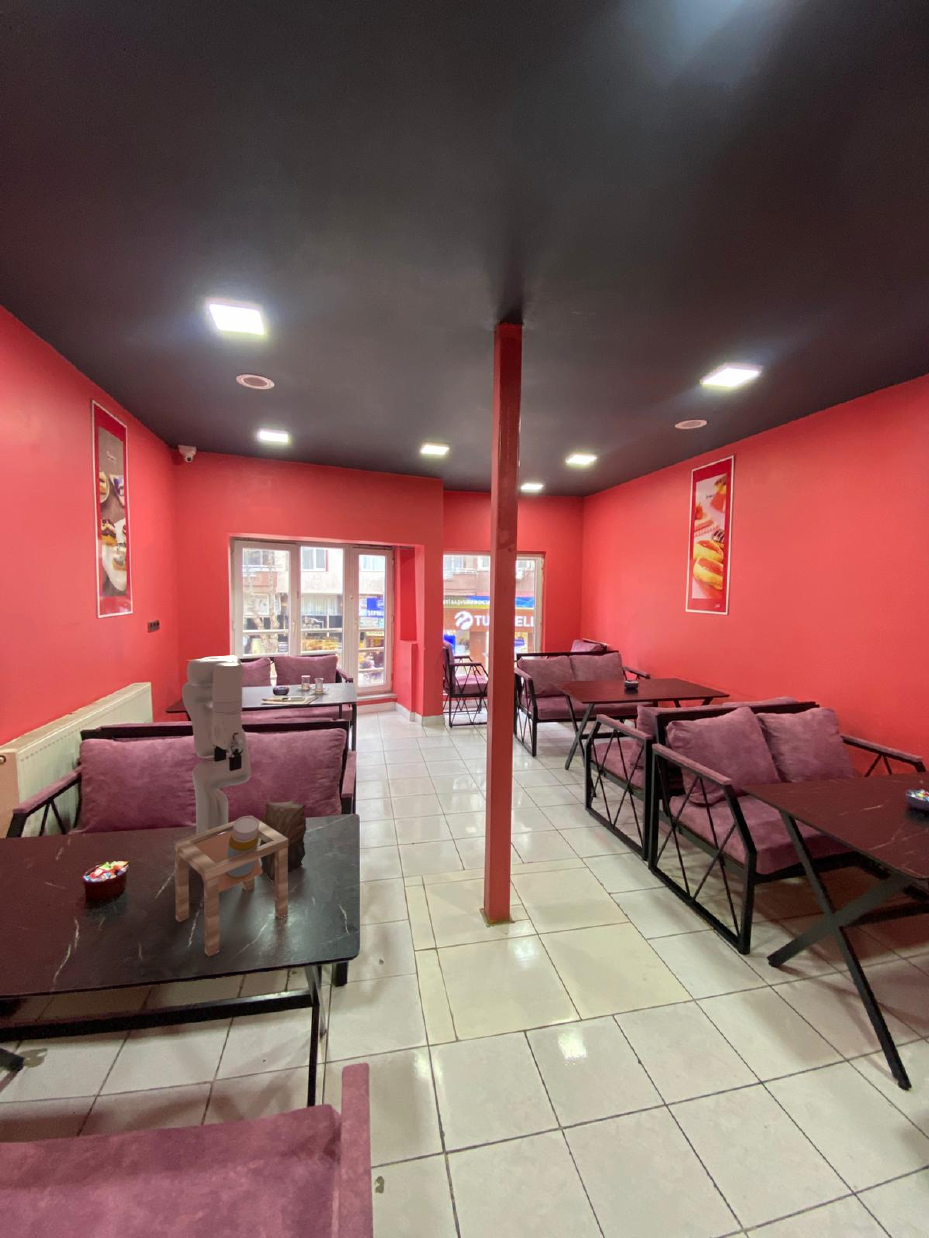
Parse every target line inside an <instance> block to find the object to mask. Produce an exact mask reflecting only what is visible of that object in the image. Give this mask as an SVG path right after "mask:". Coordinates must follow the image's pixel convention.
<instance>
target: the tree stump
mask: <svg viewBox="0 0 929 1238" xmlns="http://www.w3.org/2000/svg"><path fill="white" fill-rule="evenodd" d="M265 807H266V809H265V812H264V815H263V816H262V819H261V822H263V823H264V824H266V825H267V826H269V827H270V828H272V829H274V830H275V831H277V832H278V833H280V834H282V835H283V836H285V837H286V838H288V846H287V847H288V874H289V873H291V872H293V871H294V870H296V869H299V868H300V866H303V864H302V863H303V862H302V861H303V860H304V857H305V856H306V850H305V849H306V848H305V839H304V838H305V833H306V832H307V820H306V819H307V818H306V814H305V810H306V809H305V808H306V804H300V803H298V802H297V801H295V800H289V801H282V802H275V801H268V802H266V803H265ZM264 844H267V843H266V842H265V841H263V840H262V839H260V843H259V846H262V845H264ZM259 846H258V847H259ZM260 861H261V868H262V870H263V872H265V874H266V873H267V874H266V877H267V876H268V877H269V878H268V877H267V878H268V879H269V880H270V879H271V880H272V881H275V880H274V879H275V852H273V853H270V854H268V855H266V856H263V857H261V858H260ZM301 862H302V863H301ZM293 869H294V870H293ZM292 870H293V871H292ZM271 880H270V881H271ZM272 881H271V882H272Z"/></svg>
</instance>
